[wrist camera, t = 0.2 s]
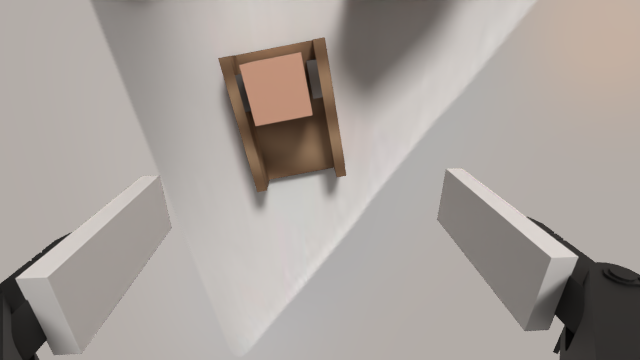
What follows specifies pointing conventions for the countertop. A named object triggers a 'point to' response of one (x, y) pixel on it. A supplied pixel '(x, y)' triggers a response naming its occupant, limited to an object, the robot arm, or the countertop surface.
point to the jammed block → (277, 89)
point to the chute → (290, 135)
